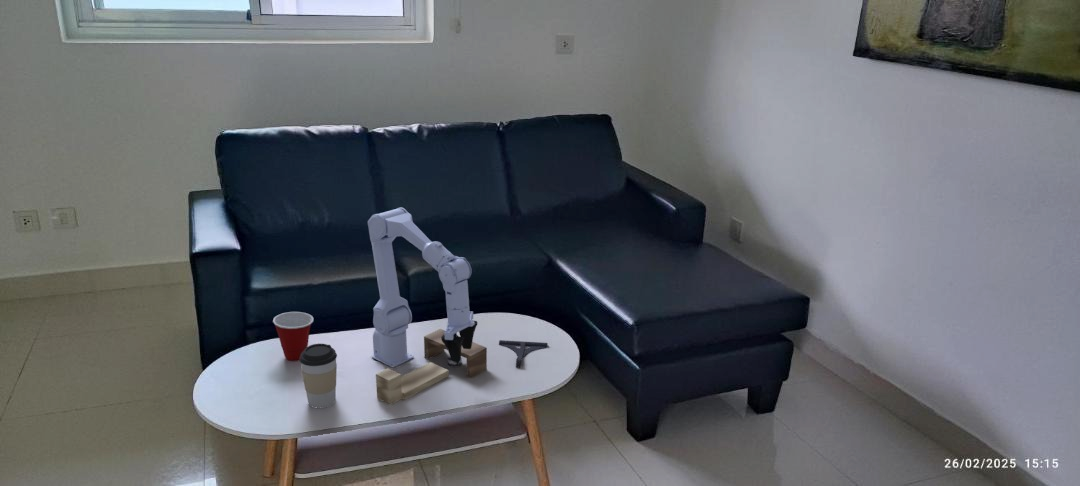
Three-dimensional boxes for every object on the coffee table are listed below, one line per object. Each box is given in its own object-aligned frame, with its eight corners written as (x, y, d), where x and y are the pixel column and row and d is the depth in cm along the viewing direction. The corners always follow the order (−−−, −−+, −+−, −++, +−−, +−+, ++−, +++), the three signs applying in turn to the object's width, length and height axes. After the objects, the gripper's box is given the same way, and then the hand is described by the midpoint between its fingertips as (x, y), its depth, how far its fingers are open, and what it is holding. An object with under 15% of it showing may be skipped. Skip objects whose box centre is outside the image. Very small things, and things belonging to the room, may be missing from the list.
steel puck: (444, 364, 208) (444, 358, 208) (454, 359, 211) (454, 353, 211) (454, 369, 206) (454, 363, 206) (464, 363, 209) (464, 358, 209)
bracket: (492, 368, 208) (492, 359, 207) (499, 344, 222) (499, 335, 221) (543, 371, 207) (543, 363, 206) (547, 347, 221) (547, 338, 220)
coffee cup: (305, 413, 183) (300, 359, 178) (301, 395, 191) (296, 343, 186) (342, 406, 186) (339, 353, 181) (337, 389, 194) (333, 337, 189)
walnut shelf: (424, 357, 212) (423, 336, 209) (440, 349, 216) (440, 328, 214) (470, 378, 201) (470, 356, 199) (486, 369, 206) (486, 347, 204)
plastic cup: (319, 361, 208) (316, 322, 204) (279, 368, 204) (275, 329, 200) (313, 345, 217) (310, 307, 213) (274, 351, 213) (270, 313, 209)
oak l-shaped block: (374, 396, 191) (373, 372, 189) (430, 367, 206) (429, 345, 204) (392, 406, 187) (391, 381, 185) (448, 376, 202) (448, 353, 200)
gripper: (461, 317, 180) (465, 368, 184) (482, 296, 193) (485, 344, 197) (435, 315, 182) (439, 365, 186) (457, 295, 195) (461, 342, 199)
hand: (461, 354), depth 192 cm, fingers open, 7 cm apart
